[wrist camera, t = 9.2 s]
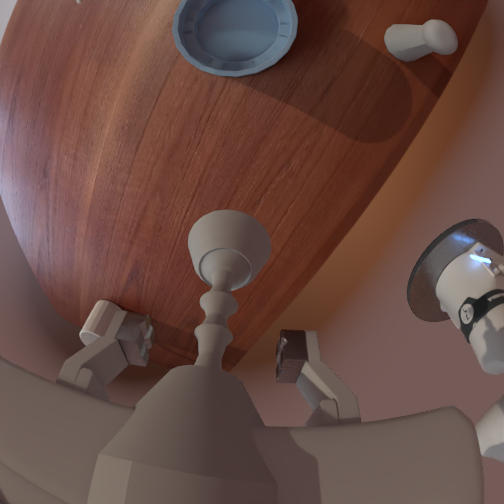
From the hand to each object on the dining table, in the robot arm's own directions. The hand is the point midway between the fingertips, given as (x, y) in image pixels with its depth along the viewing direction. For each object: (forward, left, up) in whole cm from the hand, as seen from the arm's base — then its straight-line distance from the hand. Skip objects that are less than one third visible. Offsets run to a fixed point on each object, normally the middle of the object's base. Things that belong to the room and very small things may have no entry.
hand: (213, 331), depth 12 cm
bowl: (+3, -17, -32) cm, 36 cm away
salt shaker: (-19, -20, -32) cm, 42 cm away
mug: (+30, +41, -32) cm, 60 cm away
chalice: (0, 0, -7) cm, 7 cm away
